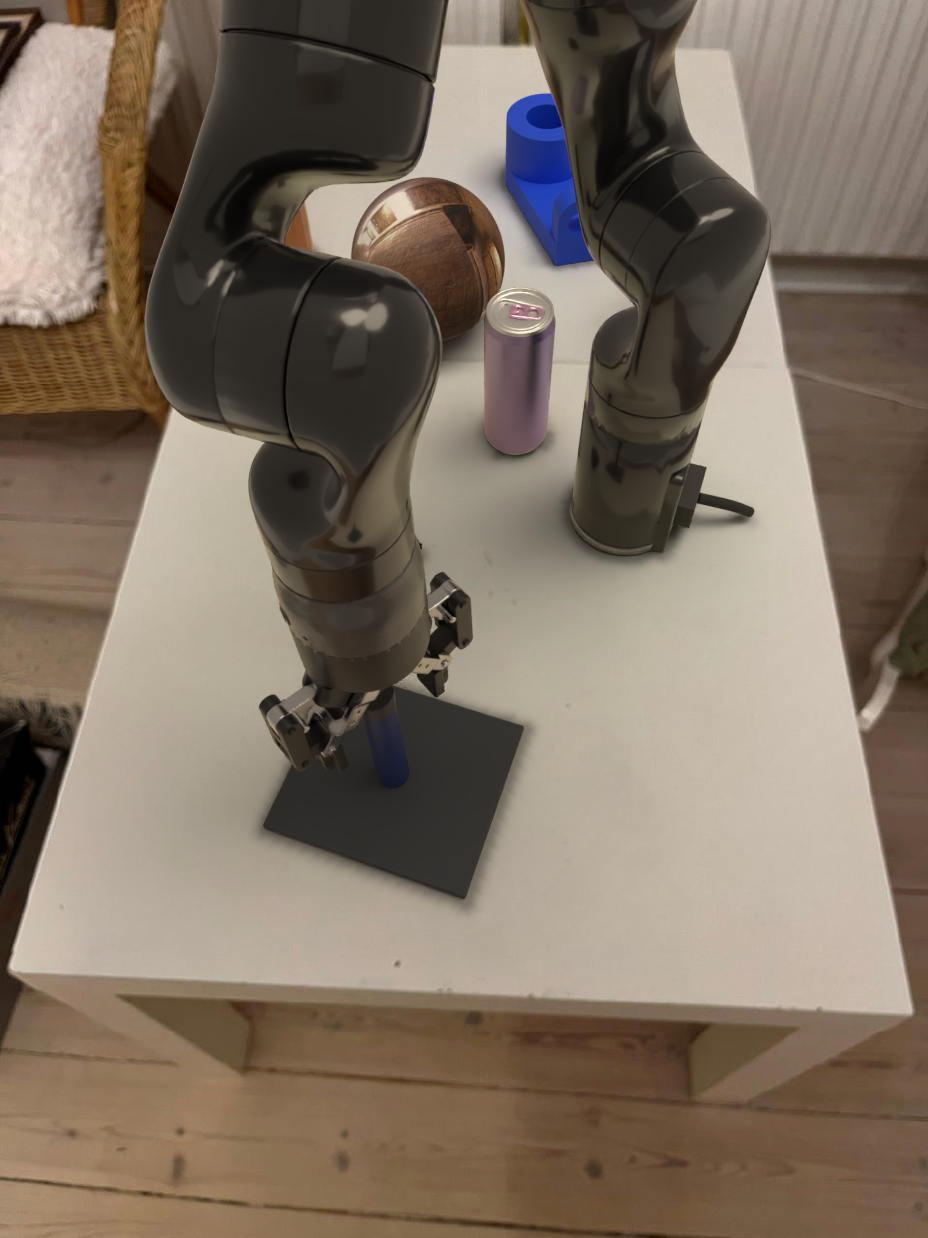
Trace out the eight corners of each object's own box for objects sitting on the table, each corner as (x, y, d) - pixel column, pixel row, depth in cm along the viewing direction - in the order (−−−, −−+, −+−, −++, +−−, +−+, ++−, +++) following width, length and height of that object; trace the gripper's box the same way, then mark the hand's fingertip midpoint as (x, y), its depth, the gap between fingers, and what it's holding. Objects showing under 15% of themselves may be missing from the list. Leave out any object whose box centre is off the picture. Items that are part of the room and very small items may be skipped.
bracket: (498, 162, 110) (498, 98, 103) (571, 152, 111) (577, 88, 104) (535, 268, 100) (538, 206, 94) (615, 256, 101) (624, 193, 94)
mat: (523, 729, 72) (524, 725, 72) (465, 899, 66) (464, 897, 65) (338, 671, 75) (337, 667, 75) (264, 828, 69) (262, 825, 68)
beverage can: (541, 462, 86) (550, 339, 73) (478, 453, 87) (477, 330, 74) (550, 415, 89) (561, 289, 76) (490, 407, 90) (491, 281, 77)
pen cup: (323, 253, 102) (309, 179, 94) (304, 283, 100) (288, 209, 92) (281, 244, 103) (264, 169, 95) (260, 273, 101) (242, 199, 93)
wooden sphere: (332, 316, 97) (309, 186, 84) (444, 256, 102) (438, 124, 89) (418, 396, 91) (407, 270, 78) (533, 328, 95) (540, 198, 82)
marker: (414, 764, 71) (399, 682, 58) (402, 793, 69) (385, 716, 57) (384, 754, 71) (363, 670, 59) (372, 783, 70) (348, 704, 58)
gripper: (282, 725, 44) (332, 831, 58) (504, 561, 48) (501, 696, 62) (198, 623, 47) (265, 748, 61) (415, 477, 51) (431, 624, 65)
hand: (384, 721), depth 62 cm, fingers open, 7 cm apart
